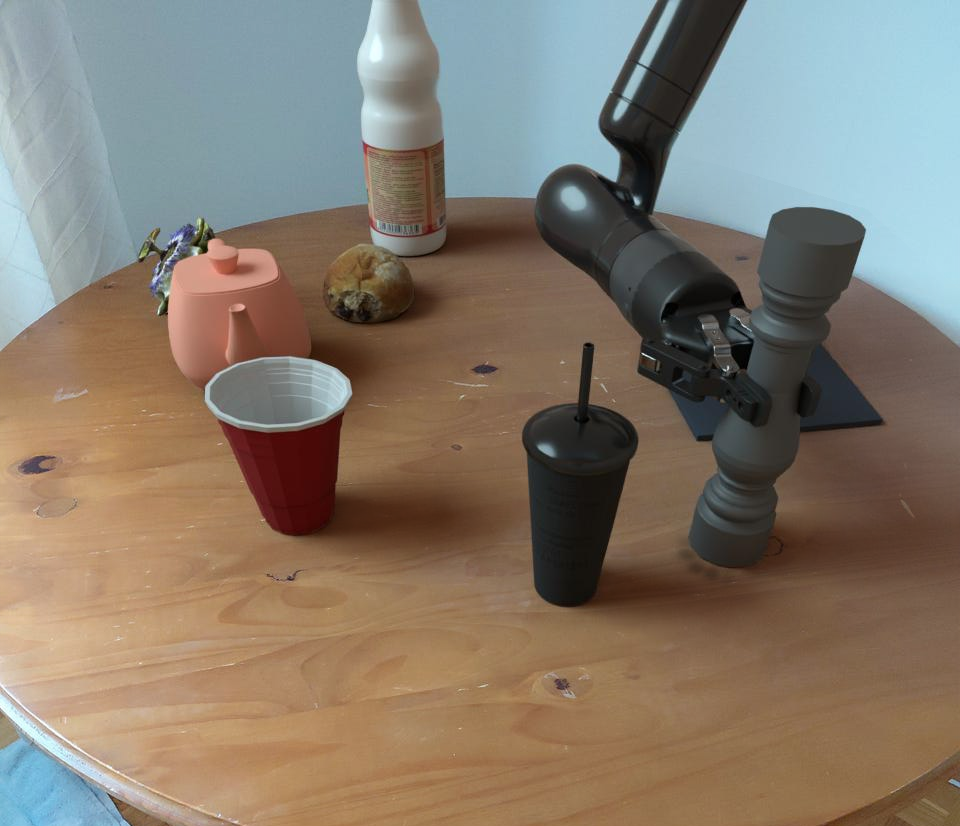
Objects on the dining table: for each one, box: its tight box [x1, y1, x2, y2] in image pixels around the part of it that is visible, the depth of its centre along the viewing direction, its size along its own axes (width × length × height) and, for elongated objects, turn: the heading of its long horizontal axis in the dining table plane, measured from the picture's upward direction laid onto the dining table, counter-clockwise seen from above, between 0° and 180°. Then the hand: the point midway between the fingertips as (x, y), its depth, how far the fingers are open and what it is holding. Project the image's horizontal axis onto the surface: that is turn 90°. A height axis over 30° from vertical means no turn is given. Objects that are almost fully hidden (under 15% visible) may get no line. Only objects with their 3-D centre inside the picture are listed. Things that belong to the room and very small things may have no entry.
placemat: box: [667, 343, 884, 442], centre depth 88 cm, size 18×18×1 cm
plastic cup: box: [204, 357, 353, 536], centre depth 70 cm, size 11×11×12 cm
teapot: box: [167, 238, 312, 390], centre depth 85 cm, size 13×20×12 cm, turn 19°
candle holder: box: [688, 206, 867, 568], centre depth 63 cm, size 6×6×25 cm
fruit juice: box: [356, 0, 447, 257], centre depth 101 cm, size 9×9×28 cm
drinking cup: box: [521, 341, 639, 607], centre depth 61 cm, size 8×8×20 cm
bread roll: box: [322, 243, 415, 324], centre depth 98 cm, size 10×10×8 cm
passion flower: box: [137, 217, 217, 317], centre depth 96 cm, size 11×11×12 cm
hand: (789, 409), depth 60 cm, fingers closed on candle holder, 3 cm apart
